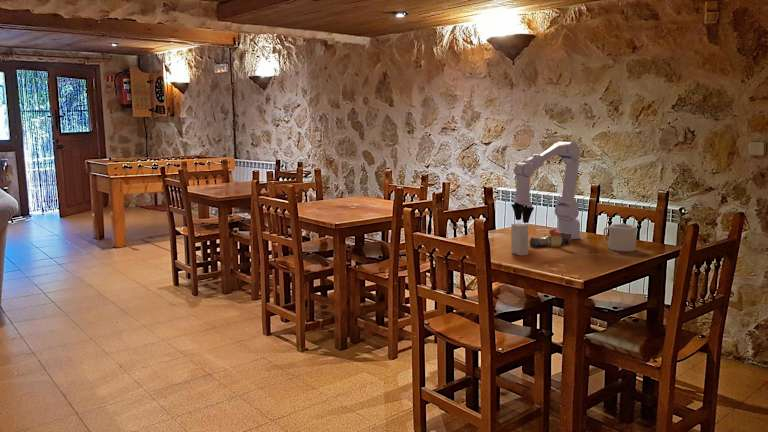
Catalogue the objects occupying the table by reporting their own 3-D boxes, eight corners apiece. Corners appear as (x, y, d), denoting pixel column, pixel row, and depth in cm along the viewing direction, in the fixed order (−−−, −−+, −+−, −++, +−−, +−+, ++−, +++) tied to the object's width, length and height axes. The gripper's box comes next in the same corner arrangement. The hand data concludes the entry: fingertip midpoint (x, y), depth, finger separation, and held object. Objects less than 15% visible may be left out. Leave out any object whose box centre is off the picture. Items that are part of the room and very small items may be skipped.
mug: (639, 249, 257) (641, 225, 255) (629, 253, 249) (631, 229, 248) (608, 244, 266) (609, 222, 264) (597, 248, 258) (598, 225, 257)
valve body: (555, 244, 269) (555, 233, 268) (562, 246, 264) (562, 235, 264) (541, 245, 266) (542, 234, 266) (549, 247, 262) (549, 236, 261)
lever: (547, 233, 265) (548, 229, 265) (553, 233, 266) (553, 228, 266) (566, 238, 254) (566, 234, 254) (571, 238, 255) (572, 233, 255)
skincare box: (528, 254, 247) (529, 225, 245) (519, 256, 245) (520, 226, 243) (519, 251, 252) (519, 223, 250) (510, 252, 250) (511, 223, 249)
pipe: (563, 243, 271) (564, 233, 270) (570, 245, 266) (571, 235, 265) (529, 247, 264) (529, 236, 263) (536, 249, 260) (536, 238, 259)
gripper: (507, 188, 271) (506, 219, 273) (521, 192, 257) (520, 224, 259) (522, 188, 272) (521, 218, 275) (537, 192, 258) (536, 223, 261)
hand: (522, 221), depth 267 cm, fingers open, 7 cm apart
